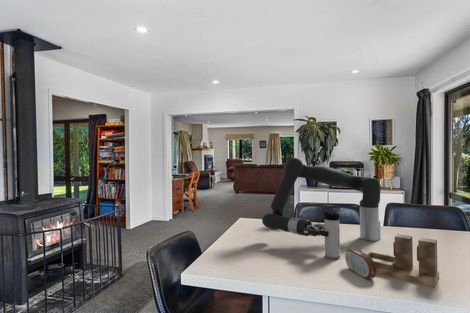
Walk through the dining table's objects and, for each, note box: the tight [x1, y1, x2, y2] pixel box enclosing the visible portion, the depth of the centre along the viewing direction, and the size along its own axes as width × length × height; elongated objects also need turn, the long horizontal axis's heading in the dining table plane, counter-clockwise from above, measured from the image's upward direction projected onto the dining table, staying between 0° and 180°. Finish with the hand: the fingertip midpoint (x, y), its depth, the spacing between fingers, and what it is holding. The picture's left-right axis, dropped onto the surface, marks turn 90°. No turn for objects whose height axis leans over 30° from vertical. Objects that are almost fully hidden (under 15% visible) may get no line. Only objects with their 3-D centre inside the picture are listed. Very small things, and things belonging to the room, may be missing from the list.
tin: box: [344, 247, 377, 280], centre depth 105 cm, size 15×3×8 cm, turn 12°
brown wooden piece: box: [366, 233, 440, 288], centre depth 106 cm, size 24×11×14 cm, turn 47°
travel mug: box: [323, 211, 341, 260], centre depth 123 cm, size 6×7×20 cm
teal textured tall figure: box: [283, 189, 294, 217], centre depth 181 cm, size 14×10×25 cm
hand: (332, 232), depth 123 cm, fingers open, 8 cm apart
